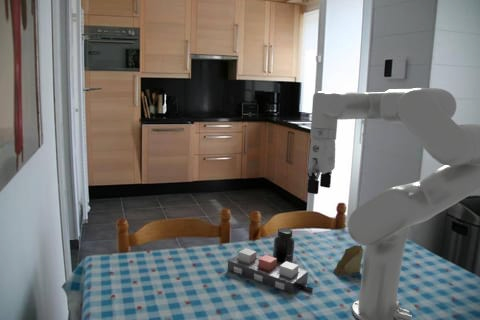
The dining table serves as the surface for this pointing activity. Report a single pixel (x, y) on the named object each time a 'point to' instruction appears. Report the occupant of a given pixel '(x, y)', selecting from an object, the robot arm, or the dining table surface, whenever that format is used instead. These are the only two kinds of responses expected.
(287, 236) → the supplement bottle
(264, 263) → the button
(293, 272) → the button
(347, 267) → the rock
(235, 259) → the push button control box
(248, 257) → the button
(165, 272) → the dining table surface
